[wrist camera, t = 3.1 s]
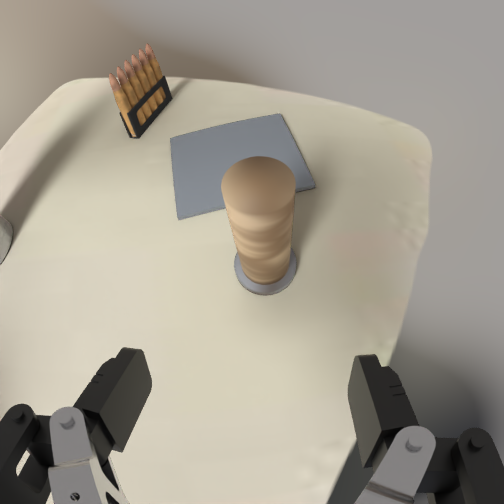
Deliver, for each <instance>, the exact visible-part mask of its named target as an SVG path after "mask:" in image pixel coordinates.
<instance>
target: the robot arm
mask: <svg viewBox="0 0 504 504" xmlns="http://www.w3.org/2000/svg"><path fill="white" fill-rule="evenodd" d="M12 235H13V229H12V225H11V224H10V223H9V222H8V221H7V220H6V219H5V218H4V217H3V216H2V215H0V263H1V262H2V261H3V259H4V258H5V256H6V254H7V252H8V250H9V247H10V244H11V241H12ZM151 388H152V379H151V375H150V372H149V369H148V365H147V362H146V359H145V355H144V352H143V351H142V350H141V349H133V348H126V347H124V348H122V349H121V350H120V352H119V353H118V355H117V356H116V358H111V359H109V360H108V361H107V362H105V363H104V364H102V366H101V367H100V368H99V370H98V371H97V373H96V375H94V377H93V378H92V380H91V382H89V384H88V385H87V387H86V388H85V390H84V391H83V393H82V394H81V395H80V397H79V398H78V400H77V401H76V403H75V404H74V406H73V407H64V408H61V409H59V410H57V411H56V412H54V414H53V415H52V416H43V415H35V413H34V411H33V410H32V408H31V407H30V406H28V405H26V404H17V405H15V406H13V407H11V408H10V409H9V410H8V411H7V413H6V414H5V416H4V417H3V418H2V420H1V421H0V504H46V501H47V499H48V497H49V495H50V492H52V497H53V501H54V504H130V503H129V502H128V500H127V499H126V497H125V495H124V493H123V490H122V488H121V485H120V483H119V480H118V477H117V475H116V472H115V469H114V466H113V463H112V460H111V458H110V456H109V454H110V452H111V450H115V451H118V452H123V450H124V448H125V446H126V443H127V441H128V439H129V437H130V435H131V432H132V430H133V428H134V426H135V424H136V422H137V420H138V417H139V415H140V413H141V411H142V409H143V407H144V405H145V403H146V400H147V398H148V396H149V394H150V392H151ZM348 400H349V405H350V409H351V414H352V418H353V423H354V427H355V432H356V437H357V442H358V446H359V451H360V456H361V462H362V466H363V468H368V467H373V472H374V475H373V476H372V478H371V480H370V481H369V483H368V484H367V486H366V487H365V489H364V490H363V492H362V493H361V495H360V496H359V497H358V499H357V500H356V502H355V503H354V504H414V500H413V497H414V495H415V493H427V498H428V502H429V504H504V466H503V464H502V461H501V459H500V456H499V454H498V451H497V449H496V447H495V444H494V442H493V440H492V438H491V436H490V435H489V433H487V432H486V431H485V430H483V429H480V428H470V429H467V430H466V431H464V432H463V433H462V434H461V435H460V437H459V438H437V437H434V436H433V434H432V433H431V432H430V431H429V430H427V429H426V428H423V427H420V426H419V424H418V422H417V419H416V416H415V415H414V411H413V409H412V407H411V405H410V402H409V400H408V397H407V395H406V394H405V390H404V388H403V387H402V383H401V381H400V379H399V377H398V375H397V374H396V373H395V372H394V371H393V370H392V369H391V368H390V367H389V366H386V367H381V365H380V363H379V360H378V358H377V356H376V355H375V354H372V355H359V356H355V358H354V362H353V367H352V371H351V376H350V380H349V385H348ZM26 450H27V451H28V452H29V453H30V456H29V457H28V459H27V461H26V463H25V465H24V466H23V468H22V470H21V472H20V474H19V476H17V474H16V467H17V465H18V463H19V461H20V460H21V458H22V456H23V454H24V453H25V451H26Z"/></svg>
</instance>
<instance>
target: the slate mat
mask: <svg viewBox="0 0 504 504" xmlns="http://www.w3.org/2000/svg"><path fill="white" fill-rule="evenodd" d="M170 143H171V157H172V169H173V180H174V190H175V200H176V209H177V218H178V219H179V220H181V219H185V218H189V217H193V216H197V215H201V214H204V213H208V212H212V211H216V210H220V209H224V208H226V206H225V202H224V199H223V195H222V191H221V182H222V179H223V176H224V174H225V173H226V171H227V170H228V169H229V168H230V167H231V166H232V165H233V164H235V163H236V162H238V161H240V160H243V159H245V158H249V157H255V156H265V157H271V158H274V159H277V160H279V161H281V162H283V163H284V164H286V165H287V166H288V167H289V168H290V169H291V171H292V172H293V174H294V177H295V181H296V187H295V192H298V191H303V190H308V189H312V188H315V183H314V181H313V178H312V176H311V174H310V172H309V170H308V168H307V166H306V164H305V162H304V159H303V157H302V155H301V153H300V151H299V149H298V147H297V145H296V143H295V141H294V139H293V137H292V135H291V133H290V131H289V129H288V127H287V126H286V124H285V122H284V120H283V118H282V116H281V114H274V115H268V116H263V117H257V118H252V119H247V120H242V121H237V122H233V123H228V124H224V125H219V126H215V127H211V128H207V129H203V130H199V131H195V132H191V133H187V134H184V135H180V136H176V137H173V138H170Z"/></svg>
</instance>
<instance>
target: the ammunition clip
mask: <svg viewBox="0 0 504 504" xmlns="http://www.w3.org/2000/svg"><path fill="white" fill-rule="evenodd" d="M146 54H147V57H146V55H145V53H144V52H143V50H141V49H139V59H140V62H139V60H138V59H137V57H136V56H135V55H132V65H133V68H134V70H133V68H132V66H131V65H130V63H129V62H128V61H127V60H125V71H126V74H127V77H126V75H125V73H124V71H123V70H122V69H121V68H120V67H117V74H118V79H119V82H120V84H119V82H118V81H117V79H116V78H115V76H114V75H113V74H111V73H110V74H109V79H110V84H111V87H112V90H113V93H114V95H115V100H116V102H117V105H118V107H119V109H120V111H121V112H120V113H119V114H120V116H121V118H122V121H123V123H124V125H125V128H126V130H127V132H128V134H129V137H130V138H140V137H141V135H142V134H143V133H144V132H145V130H146V129H147V128H148V127H149V125H150V124H151V123H152V122H153V121H154V119H155V118H156V117H157V116H158V115H159V114H160V112H161V111H162V110H163V109H164V108H165V107H166V105H167V104H168V103H169V102H170V101H171V100H172V99H173V98H172V96H171V93H170V90H169V87H168V84H167V81H166V78H165V76H162V73H161V70H160V66H159V64H158V62H157V60H156V57H155V55H154V52H153V50H152V48H151V47H150V45H149V44H146ZM147 58H148V59H147ZM140 63H141V64H140ZM141 66H142V67H141ZM127 78H128V79H127ZM120 85H121V86H120Z"/></svg>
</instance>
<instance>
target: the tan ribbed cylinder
mask: <svg viewBox="0 0 504 504" xmlns="http://www.w3.org/2000/svg"><path fill="white" fill-rule="evenodd" d="M295 187H296V181H295V177H294V174H293V172H292V171H291V169H290V168H289V167H288V166H287V165H286V164H284V163H283V162H281V161H279V160H277V159H274V158H271V157H265V156H255V157H249V158H245V159H243V160H240V161H238V162H236V163H235V164H233V165H232V166H231V167H230V168H229V169H228V170H227V171H226V173H225V174H224V176H223V179H222V182H221V191H222V195H223V199H224V202H225V206H226V210H227V214H228V218H229V221H230V225H231V229H232V233H233V236H234V240H235V244H236V248H237V254H236V256H235V261H234V267H235V272H236V275H237V278H238V280H239V282H240V283H241V284H242V286H243V287H244V288H246V289H247V290H248V291H250V292H252V293H254V294H258V295H273V294H276V293H279V292H281V291H282V290H284V289H285V288H286V287H287V286H288V285H289V284H290V283H291V282H292V280H293V278H294V275H295V271H296V257H295V254H294V251H293V249H292V248H291V238H292V226H293V214H294V201H295Z"/></svg>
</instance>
